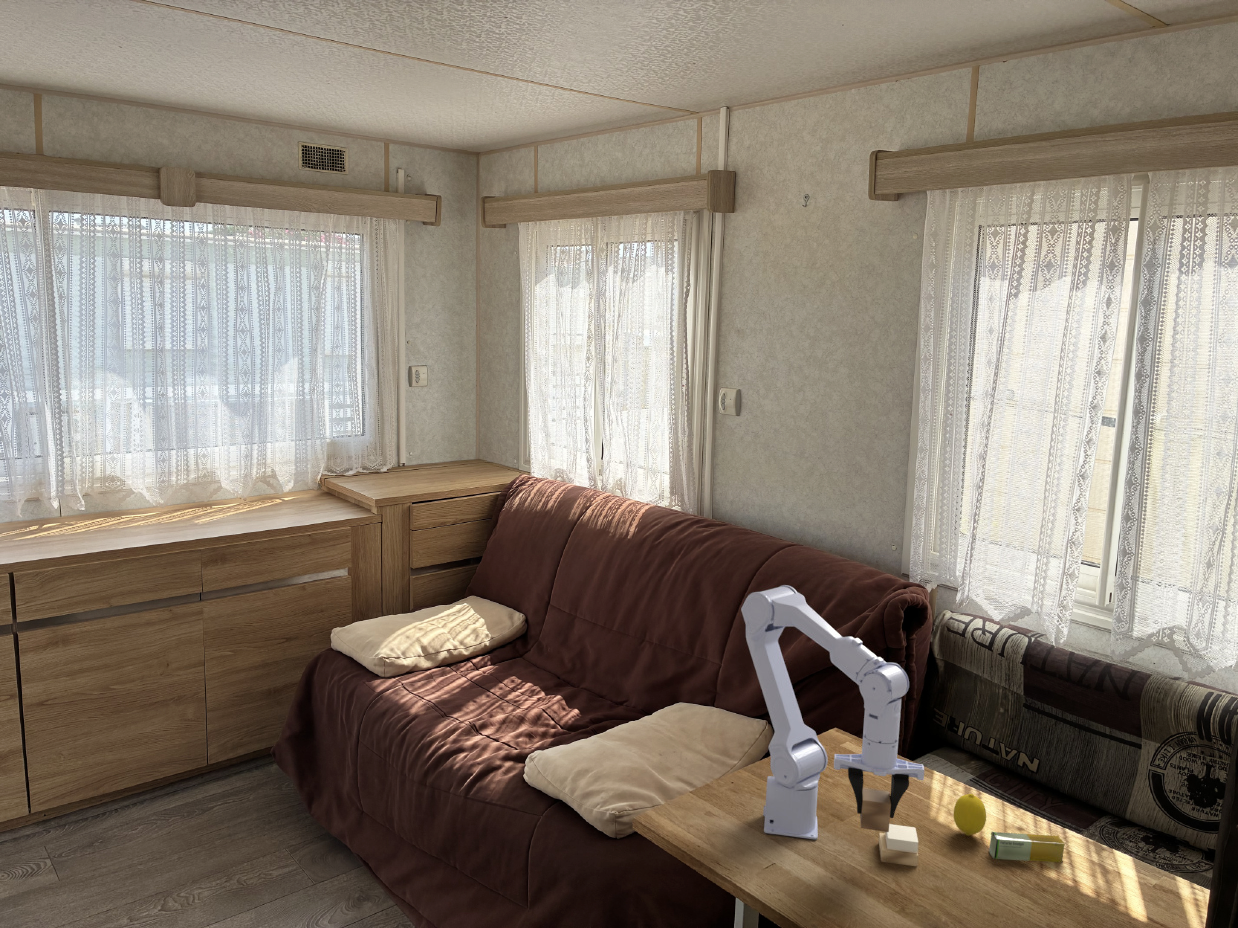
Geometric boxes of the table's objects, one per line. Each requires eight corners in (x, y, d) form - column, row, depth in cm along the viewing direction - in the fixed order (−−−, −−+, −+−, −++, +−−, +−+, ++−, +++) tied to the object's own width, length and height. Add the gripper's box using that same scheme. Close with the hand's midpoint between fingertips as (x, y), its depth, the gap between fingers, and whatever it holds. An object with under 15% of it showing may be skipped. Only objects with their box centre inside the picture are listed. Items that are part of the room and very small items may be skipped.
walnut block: (860, 827, 155) (862, 799, 154) (860, 814, 159) (862, 787, 159) (888, 832, 154) (890, 803, 153) (887, 818, 158) (889, 791, 158)
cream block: (887, 848, 160) (888, 837, 159) (885, 833, 164) (886, 823, 164) (917, 853, 158) (918, 842, 158) (914, 837, 163) (915, 827, 163)
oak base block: (880, 863, 159) (882, 850, 159) (878, 845, 165) (879, 832, 165) (917, 868, 158) (918, 855, 158) (913, 850, 164) (914, 837, 164)
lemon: (986, 845, 166) (990, 803, 164) (954, 840, 167) (957, 799, 166) (981, 829, 171) (984, 788, 170) (949, 825, 172) (953, 784, 171)
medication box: (993, 860, 161) (995, 838, 161) (987, 851, 164) (990, 830, 163) (1063, 864, 161) (1065, 842, 160) (1056, 855, 164) (1059, 834, 163)
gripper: (836, 741, 153) (831, 818, 154) (928, 751, 150) (922, 830, 151) (835, 724, 159) (831, 798, 161) (923, 734, 156) (917, 809, 158)
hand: (875, 812), depth 157 cm, fingers closed on walnut block, 4 cm apart
